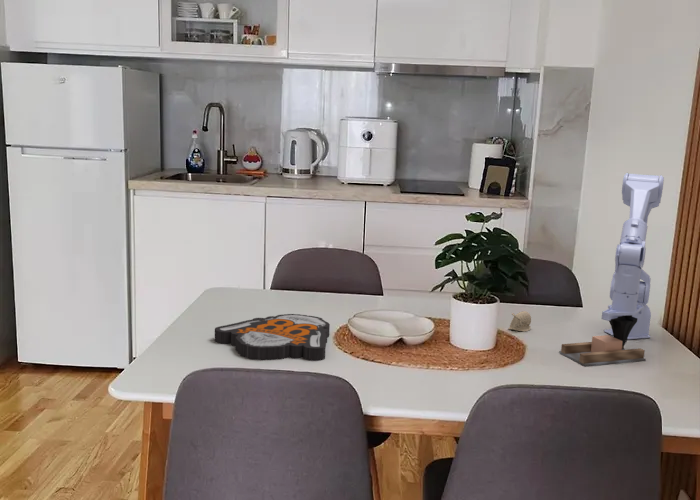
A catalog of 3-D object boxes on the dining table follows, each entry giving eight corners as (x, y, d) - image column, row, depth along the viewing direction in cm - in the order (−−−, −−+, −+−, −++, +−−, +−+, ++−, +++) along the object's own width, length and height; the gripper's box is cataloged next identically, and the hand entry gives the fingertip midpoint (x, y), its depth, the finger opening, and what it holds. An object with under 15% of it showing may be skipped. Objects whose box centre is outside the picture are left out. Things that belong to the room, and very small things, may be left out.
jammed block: (607, 350, 179) (608, 335, 178) (620, 356, 174) (622, 341, 174) (590, 351, 177) (592, 336, 177) (604, 358, 173) (605, 342, 172)
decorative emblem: (305, 372, 157) (361, 337, 184) (306, 358, 156) (361, 324, 183) (196, 349, 169) (263, 319, 196) (196, 335, 168) (264, 307, 195)
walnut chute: (617, 348, 183) (618, 338, 183) (645, 360, 174) (646, 351, 174) (559, 352, 177) (560, 343, 177) (584, 366, 168) (586, 356, 167)
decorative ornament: (535, 329, 197) (536, 311, 196) (514, 334, 192) (516, 314, 191) (523, 326, 200) (525, 307, 199) (503, 330, 195) (505, 311, 194)
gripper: (629, 285, 182) (622, 336, 184) (593, 290, 173) (587, 344, 176) (654, 291, 176) (647, 343, 178) (618, 297, 168) (612, 352, 170)
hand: (619, 344), depth 177 cm, fingers closed
